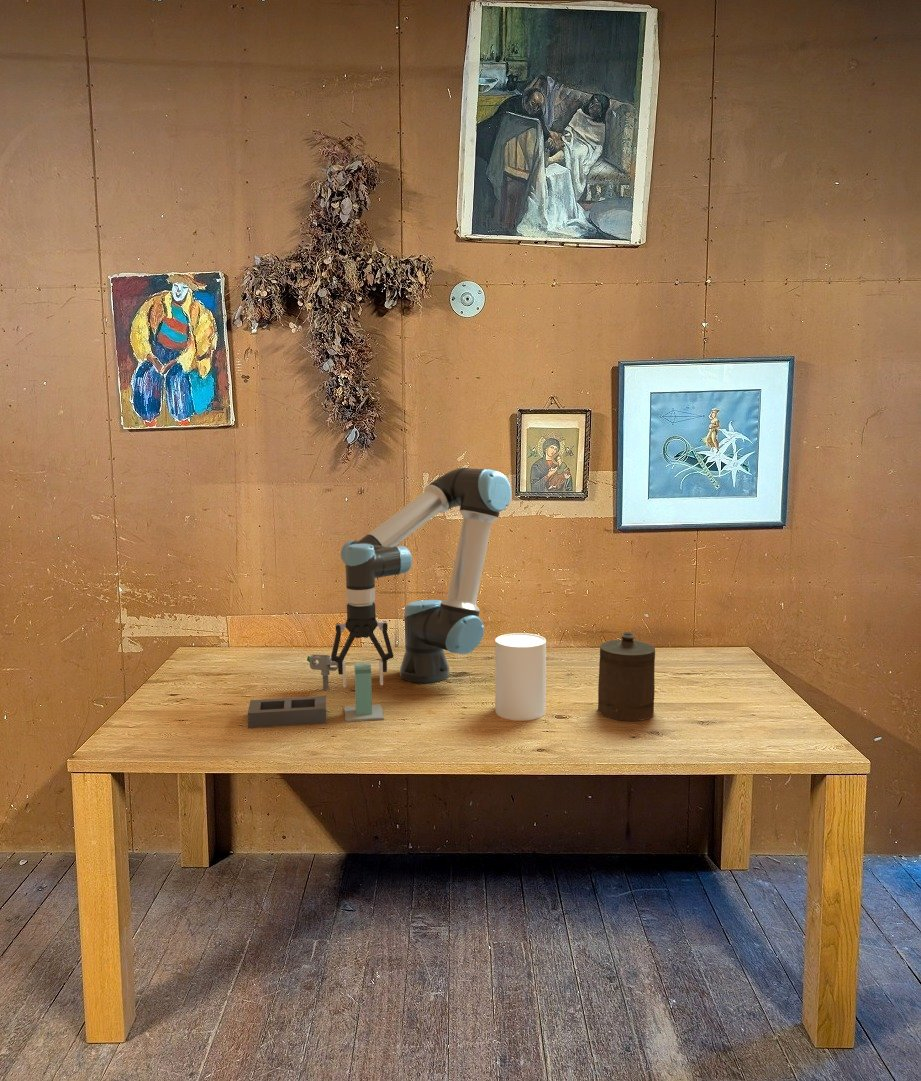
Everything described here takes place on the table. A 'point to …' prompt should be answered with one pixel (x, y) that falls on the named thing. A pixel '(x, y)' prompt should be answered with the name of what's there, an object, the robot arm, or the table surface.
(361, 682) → the plug
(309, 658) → the mechanical component
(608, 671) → the wooden container
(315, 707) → the cinder block
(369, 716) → the mat
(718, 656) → the table surface
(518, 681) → the canister
